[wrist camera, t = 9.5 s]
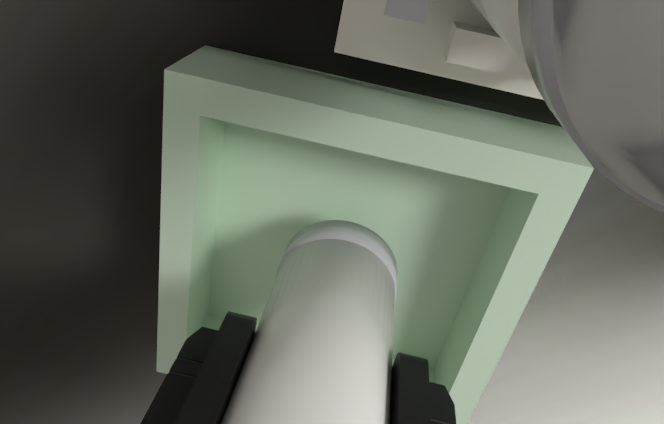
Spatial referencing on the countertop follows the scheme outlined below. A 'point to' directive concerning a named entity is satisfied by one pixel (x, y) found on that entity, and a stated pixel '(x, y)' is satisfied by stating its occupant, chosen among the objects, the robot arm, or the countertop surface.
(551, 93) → the cylinder
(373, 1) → the holder
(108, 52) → the countertop surface
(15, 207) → the countertop surface
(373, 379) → the fuse marked
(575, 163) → the tray
